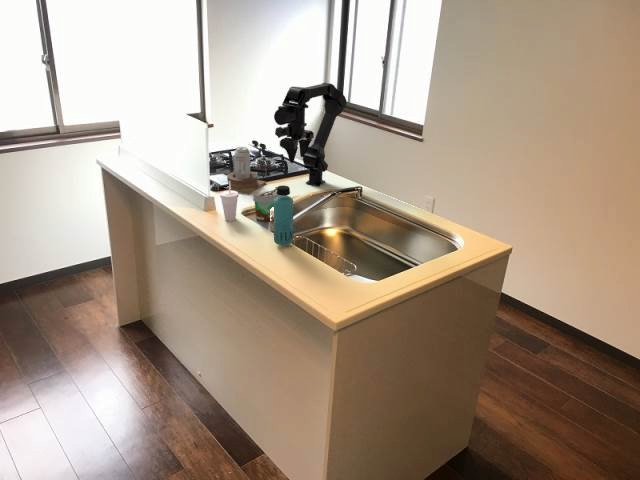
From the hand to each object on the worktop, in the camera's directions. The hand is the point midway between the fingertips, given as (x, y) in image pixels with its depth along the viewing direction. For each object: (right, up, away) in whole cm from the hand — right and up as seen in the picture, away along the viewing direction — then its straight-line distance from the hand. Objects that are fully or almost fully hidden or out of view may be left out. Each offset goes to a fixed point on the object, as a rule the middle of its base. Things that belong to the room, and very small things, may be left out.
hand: (296, 159), depth 211 cm
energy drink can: (-23, -9, +8) cm, 26 cm away
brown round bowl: (-23, -9, +9) cm, 26 cm away
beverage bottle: (-3, -34, -40) cm, 52 cm away
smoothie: (-23, -25, -22) cm, 40 cm away
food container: (-8, -24, -21) cm, 33 cm away
